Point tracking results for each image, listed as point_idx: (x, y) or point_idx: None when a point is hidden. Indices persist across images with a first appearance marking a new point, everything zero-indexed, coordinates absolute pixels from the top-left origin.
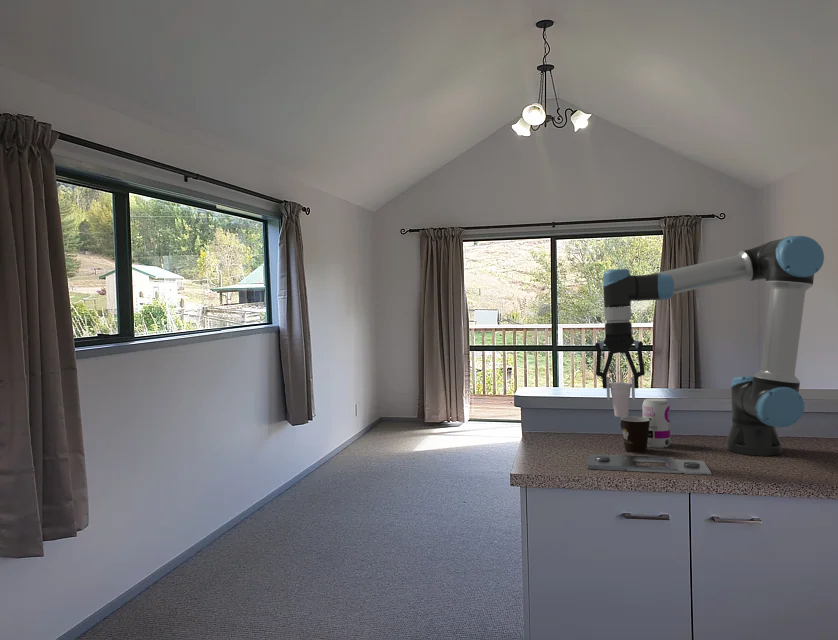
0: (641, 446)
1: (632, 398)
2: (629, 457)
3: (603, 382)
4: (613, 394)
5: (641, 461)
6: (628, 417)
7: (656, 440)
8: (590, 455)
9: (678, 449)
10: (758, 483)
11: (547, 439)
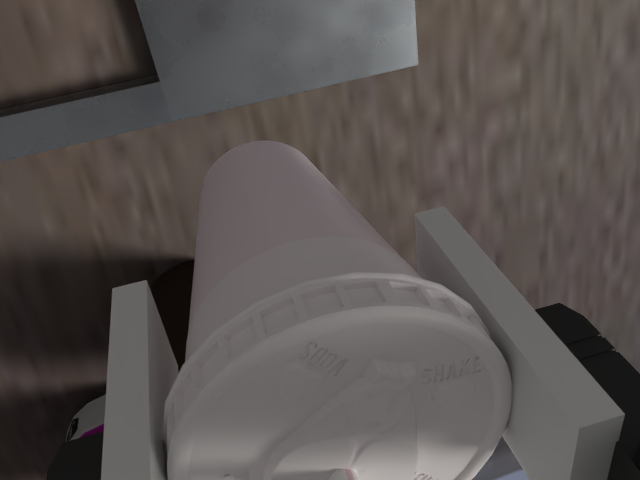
0: (162, 291)
1: (143, 293)
2: (176, 69)
3: (614, 365)
4: (395, 251)
5: (108, 85)
6: None
7: None
8: (405, 28)
9: (12, 404)
10: None
11: (605, 320)
